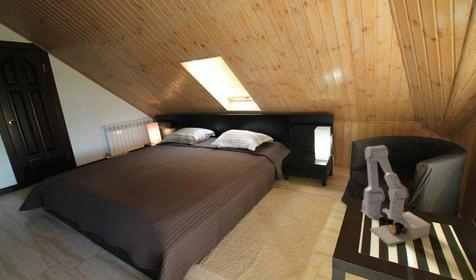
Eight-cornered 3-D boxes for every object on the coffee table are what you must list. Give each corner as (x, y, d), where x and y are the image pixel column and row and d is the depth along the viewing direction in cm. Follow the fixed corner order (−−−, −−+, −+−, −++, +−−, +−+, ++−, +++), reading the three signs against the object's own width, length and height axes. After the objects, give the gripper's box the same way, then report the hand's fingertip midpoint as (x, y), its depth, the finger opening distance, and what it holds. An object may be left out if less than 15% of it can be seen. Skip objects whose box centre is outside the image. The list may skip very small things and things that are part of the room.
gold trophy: (386, 229, 118) (386, 222, 117) (408, 224, 120) (409, 217, 119) (395, 236, 113) (395, 228, 111) (417, 230, 115) (418, 223, 114)
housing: (370, 230, 120) (371, 219, 118) (407, 222, 124) (408, 211, 122) (388, 245, 109) (389, 233, 107) (428, 236, 112) (430, 224, 111)
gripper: (378, 202, 118) (376, 224, 122) (402, 218, 104) (399, 241, 108) (389, 200, 119) (387, 221, 123) (414, 215, 105) (411, 238, 109)
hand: (393, 230), depth 115 cm, fingers closed on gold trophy, 4 cm apart
